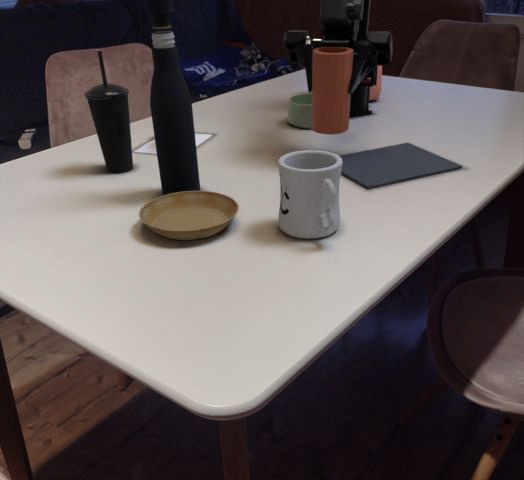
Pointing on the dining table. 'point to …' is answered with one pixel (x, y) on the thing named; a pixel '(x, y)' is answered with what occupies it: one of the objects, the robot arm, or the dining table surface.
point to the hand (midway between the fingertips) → (329, 92)
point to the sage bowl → (300, 110)
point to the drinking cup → (112, 122)
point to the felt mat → (393, 165)
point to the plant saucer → (189, 214)
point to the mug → (309, 193)
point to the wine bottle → (171, 108)
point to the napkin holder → (151, 145)
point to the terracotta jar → (331, 89)
